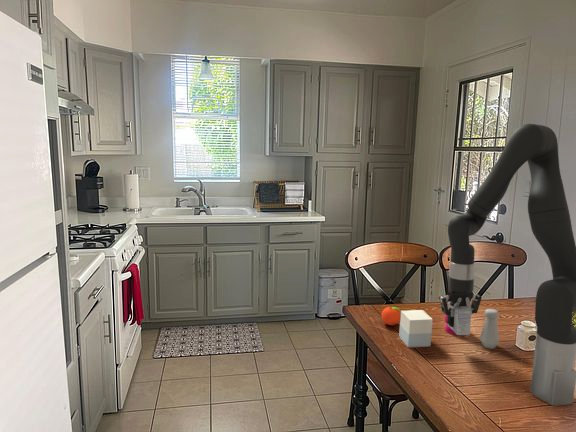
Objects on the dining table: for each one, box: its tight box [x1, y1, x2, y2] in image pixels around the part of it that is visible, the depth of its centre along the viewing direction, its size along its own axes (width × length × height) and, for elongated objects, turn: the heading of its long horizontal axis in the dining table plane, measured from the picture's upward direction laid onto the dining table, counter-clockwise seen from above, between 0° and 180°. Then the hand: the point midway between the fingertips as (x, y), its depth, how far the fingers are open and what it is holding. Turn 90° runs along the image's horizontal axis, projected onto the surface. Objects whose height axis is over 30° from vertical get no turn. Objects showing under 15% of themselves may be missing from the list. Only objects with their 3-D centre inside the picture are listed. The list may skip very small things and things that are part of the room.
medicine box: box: [447, 302, 472, 336], centre depth 133 cm, size 8×4×9 cm, turn 0°
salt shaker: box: [479, 308, 500, 350], centre depth 138 cm, size 6×6×13 cm
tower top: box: [399, 309, 434, 334], centre depth 141 cm, size 8×8×5 cm
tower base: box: [398, 323, 432, 348], centre depth 141 cm, size 8×8×5 cm
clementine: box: [381, 306, 401, 326], centre depth 155 cm, size 8×7×7 cm
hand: (458, 325), depth 133 cm, fingers closed on medicine box, 4 cm apart
